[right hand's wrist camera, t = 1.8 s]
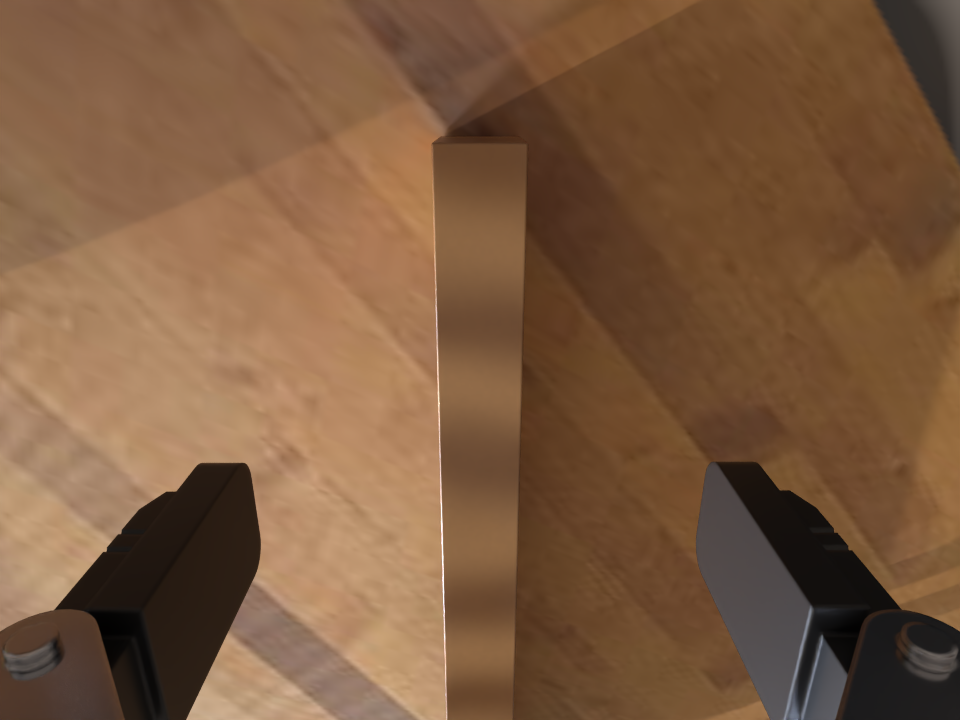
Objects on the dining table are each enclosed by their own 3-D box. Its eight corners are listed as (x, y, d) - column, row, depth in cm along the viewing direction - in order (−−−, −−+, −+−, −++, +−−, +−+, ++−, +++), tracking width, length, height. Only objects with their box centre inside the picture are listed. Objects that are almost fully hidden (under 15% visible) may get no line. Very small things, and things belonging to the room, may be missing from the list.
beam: (439, 136, 35) (431, 142, 29) (520, 136, 35) (528, 142, 29) (453, 787, 53) (450, 874, 47) (506, 787, 53) (509, 874, 47)
